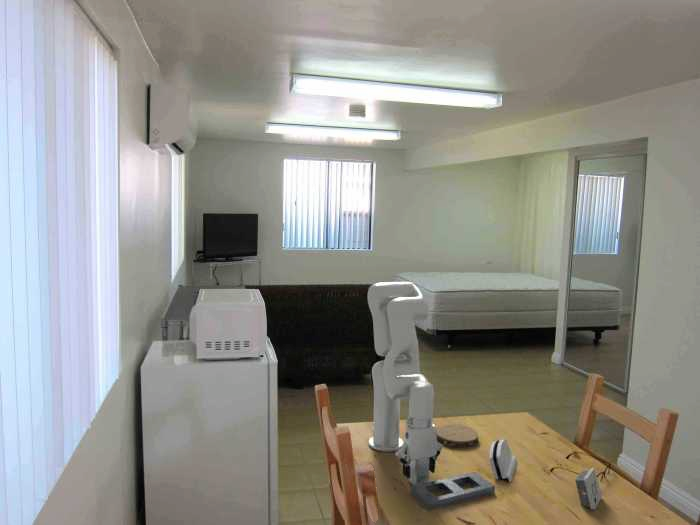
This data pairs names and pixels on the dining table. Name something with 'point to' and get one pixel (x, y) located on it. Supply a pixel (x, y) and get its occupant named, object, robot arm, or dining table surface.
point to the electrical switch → (588, 488)
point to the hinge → (502, 460)
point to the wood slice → (456, 436)
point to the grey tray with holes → (452, 490)
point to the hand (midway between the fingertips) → (418, 473)
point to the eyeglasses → (591, 456)
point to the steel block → (419, 471)
